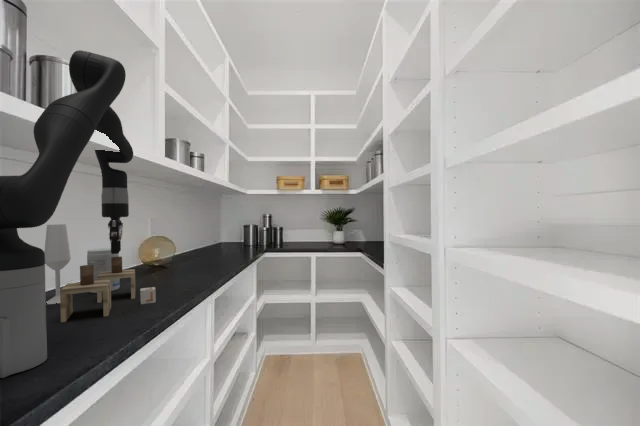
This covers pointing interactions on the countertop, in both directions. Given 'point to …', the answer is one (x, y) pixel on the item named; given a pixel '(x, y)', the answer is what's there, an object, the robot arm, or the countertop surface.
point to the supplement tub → (102, 264)
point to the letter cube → (148, 295)
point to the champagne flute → (56, 254)
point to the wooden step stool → (84, 286)
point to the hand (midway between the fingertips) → (116, 252)
